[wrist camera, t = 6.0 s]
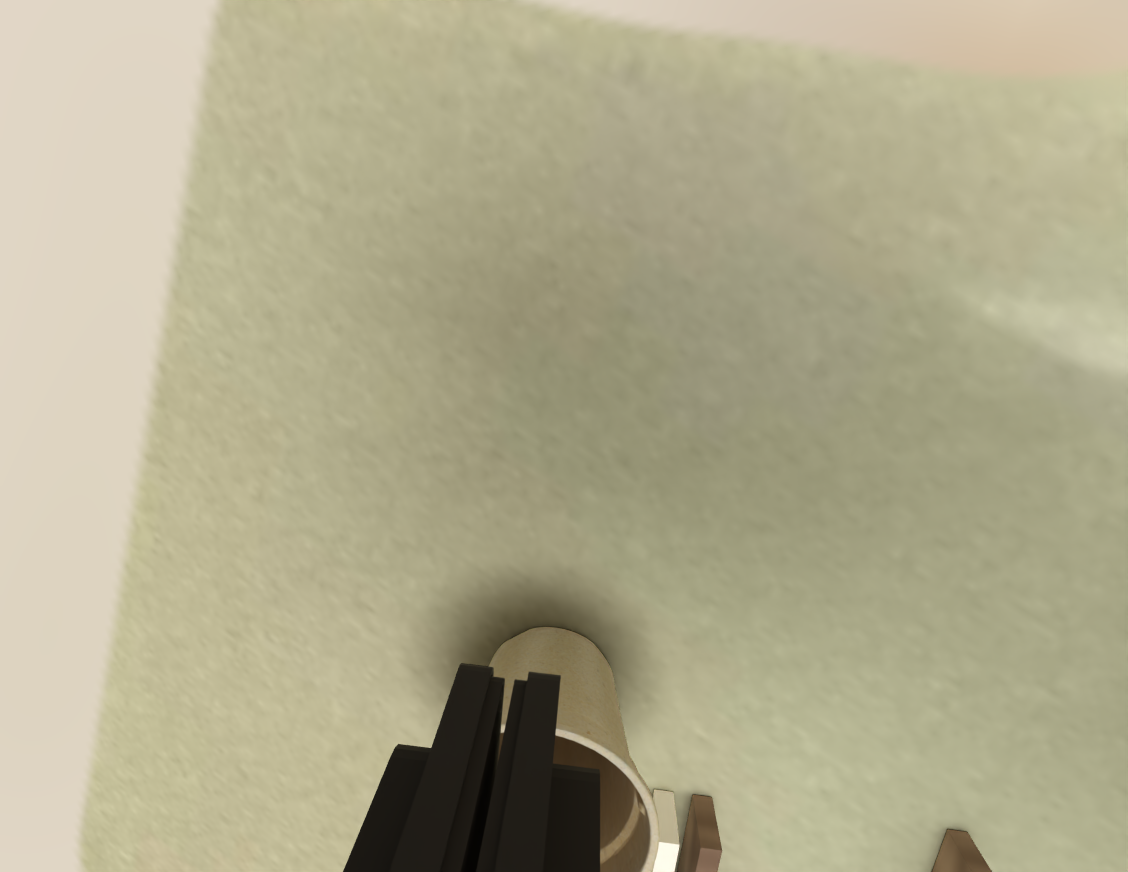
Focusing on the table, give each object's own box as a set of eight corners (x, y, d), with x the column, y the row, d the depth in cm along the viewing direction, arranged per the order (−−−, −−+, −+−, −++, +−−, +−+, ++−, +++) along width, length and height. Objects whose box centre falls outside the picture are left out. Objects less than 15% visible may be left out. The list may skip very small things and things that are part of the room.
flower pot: (436, 606, 30) (371, 741, 22) (629, 580, 29) (637, 712, 21) (480, 762, 33) (436, 936, 24) (659, 744, 32) (677, 919, 23)
